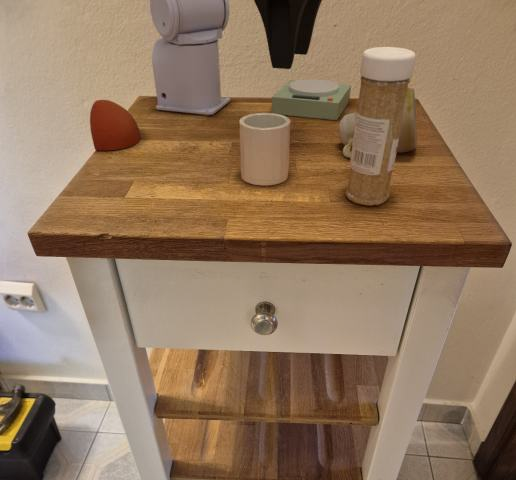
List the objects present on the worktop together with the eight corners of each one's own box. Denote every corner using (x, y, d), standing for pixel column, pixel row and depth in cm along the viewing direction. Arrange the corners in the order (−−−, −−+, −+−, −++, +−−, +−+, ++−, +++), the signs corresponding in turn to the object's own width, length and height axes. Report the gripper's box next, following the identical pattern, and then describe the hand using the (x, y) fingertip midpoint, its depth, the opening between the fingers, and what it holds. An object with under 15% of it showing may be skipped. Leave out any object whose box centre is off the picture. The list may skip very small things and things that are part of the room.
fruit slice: (153, 122, 65) (130, 145, 67) (114, 80, 62) (92, 106, 64) (138, 144, 59) (114, 169, 61) (94, 100, 56) (71, 128, 58)
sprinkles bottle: (397, 200, 49) (428, 51, 40) (365, 211, 47) (389, 58, 38) (367, 184, 52) (389, 42, 43) (335, 194, 50) (352, 48, 41)
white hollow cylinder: (234, 182, 53) (232, 126, 49) (250, 164, 57) (249, 110, 52) (280, 188, 51) (282, 131, 47) (293, 169, 55) (295, 115, 51)
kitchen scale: (271, 114, 71) (271, 92, 69) (289, 96, 78) (290, 75, 76) (336, 120, 68) (339, 98, 66) (349, 101, 75) (351, 80, 73)
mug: (333, 137, 64) (380, 64, 58) (391, 180, 64) (443, 110, 58) (322, 141, 57) (374, 59, 52) (386, 188, 57) (445, 111, 52)
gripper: (320, -100, 40) (309, 77, 49) (349, -97, 50) (336, 50, 60) (242, -99, 42) (246, 73, 51) (286, -97, 52) (282, 46, 61)
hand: (290, 60), depth 55 cm, fingers open, 7 cm apart
